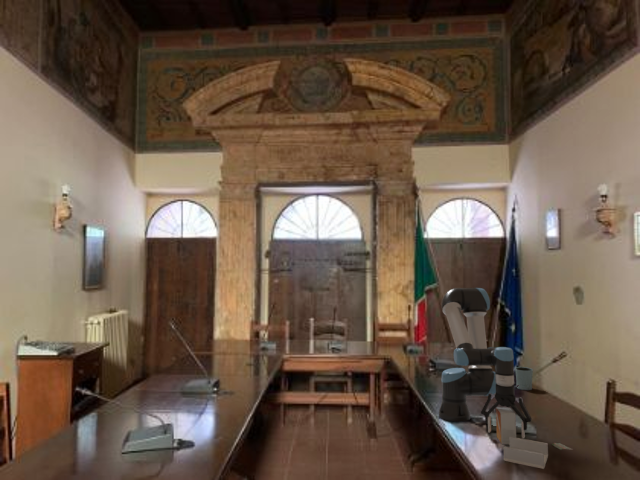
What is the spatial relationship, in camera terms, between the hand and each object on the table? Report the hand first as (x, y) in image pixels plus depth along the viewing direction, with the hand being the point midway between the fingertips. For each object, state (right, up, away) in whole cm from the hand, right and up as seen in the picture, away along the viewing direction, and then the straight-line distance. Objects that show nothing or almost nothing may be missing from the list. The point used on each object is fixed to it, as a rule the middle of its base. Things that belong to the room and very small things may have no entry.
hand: (506, 434), depth 196 cm
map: (+22, -2, -13) cm, 26 cm away
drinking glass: (+46, -8, +86) cm, 98 cm away
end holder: (0, -2, -18) cm, 18 cm away
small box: (0, -3, 0) cm, 3 cm away
